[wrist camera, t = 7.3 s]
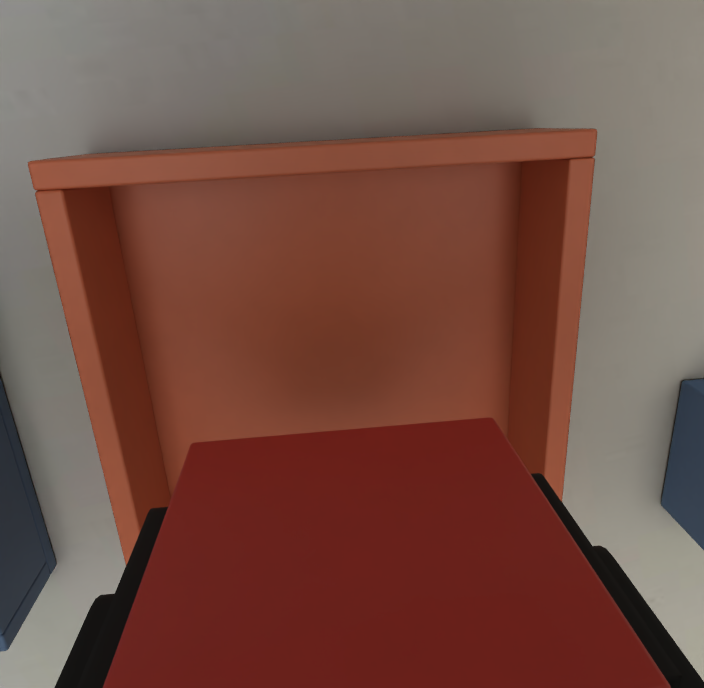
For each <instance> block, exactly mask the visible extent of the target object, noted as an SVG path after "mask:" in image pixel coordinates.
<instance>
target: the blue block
mask: <svg viewBox="0 0 704 688" xmlns="http://www.w3.org/2000/svg"><path fill="white" fill-rule="evenodd" d="M661 505H662V507H663V508H664V509H665V510H666V511H667V512H668V513H669V514H670V515H671V516H672V517H673V518H674V519H675V520H676V521H677V522H678V523H679V525H680V526H681V527H682V528H683V529H684V530H685V531H686V532H687V533H688V534H689V535H690V536H691V537H692V538H693V539H694V540H695V541H696V543H697V544H698V545H699V546H700V547H701V548H702V549H703V550H704V379H697V380H685V381H682V385H681V391H680V396H679V402H678V408H677V414H676V420H675V426H674V431H673V437H672V443H671V449H670V455H669V460H668V466H667V472H666V478H665V484H664V490H663V495H662V501H661Z"/></svg>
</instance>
